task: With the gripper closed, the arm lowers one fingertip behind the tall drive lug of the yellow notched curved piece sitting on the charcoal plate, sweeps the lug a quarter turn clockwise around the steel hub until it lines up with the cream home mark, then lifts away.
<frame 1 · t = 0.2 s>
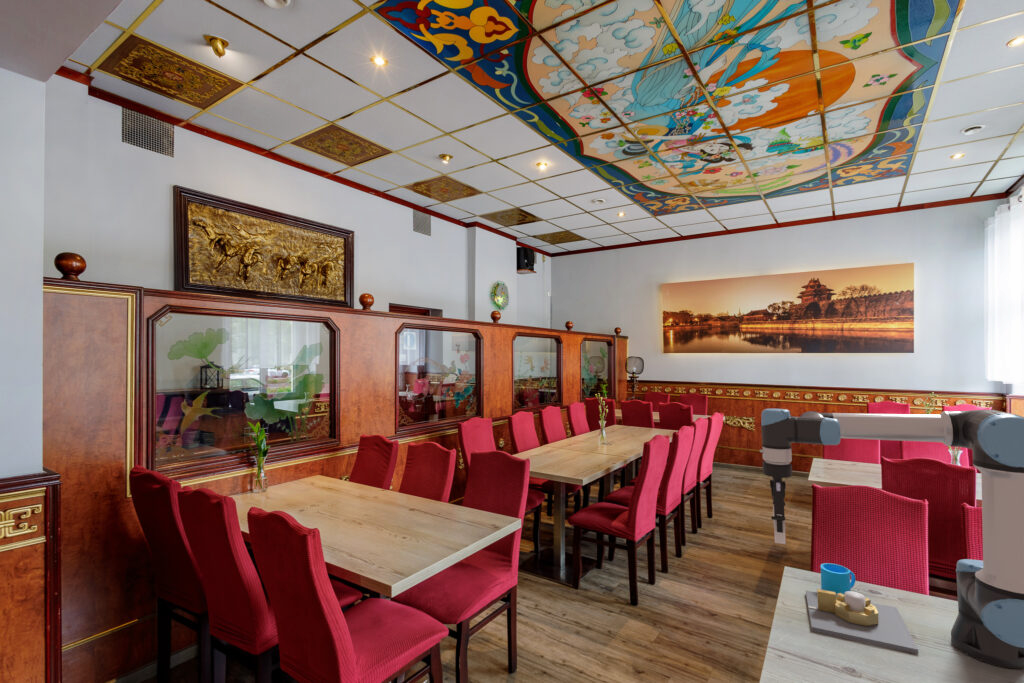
hand: (779, 535, 140), 27 cm above the table, fingers open, 13 cm apart
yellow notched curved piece: (846, 604, 144), point 4 cm above the table, hinge at 0.0°
housing plate: (855, 620, 143), on the table
mug: (840, 593, 160), on the table
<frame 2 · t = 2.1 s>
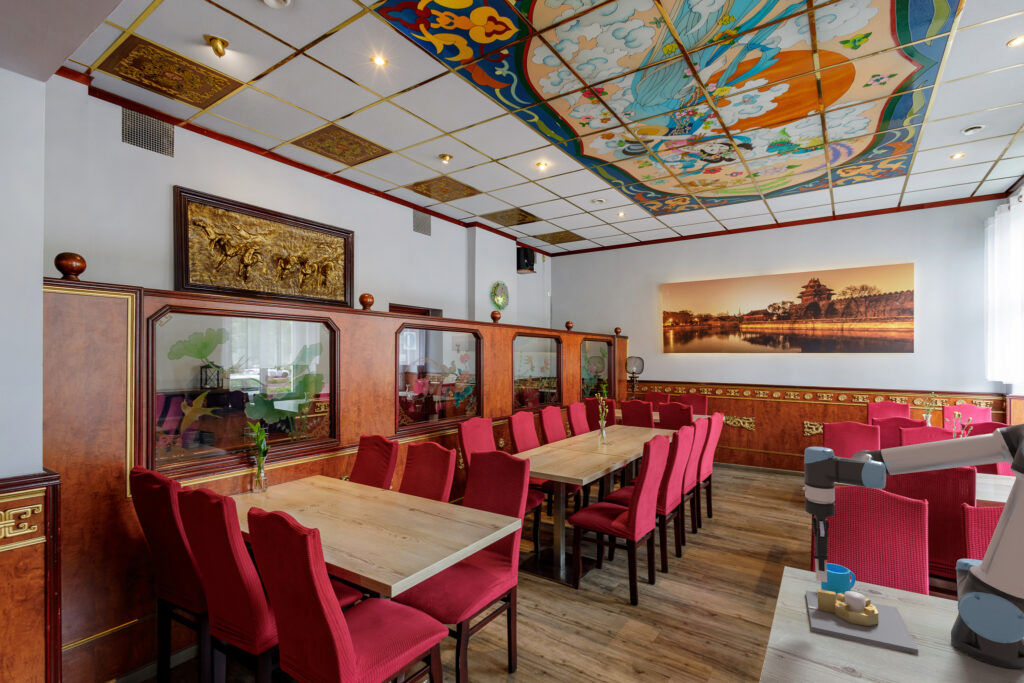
hand: (821, 580, 142), 13 cm above the table, fingers closed
nothing on the table moved.
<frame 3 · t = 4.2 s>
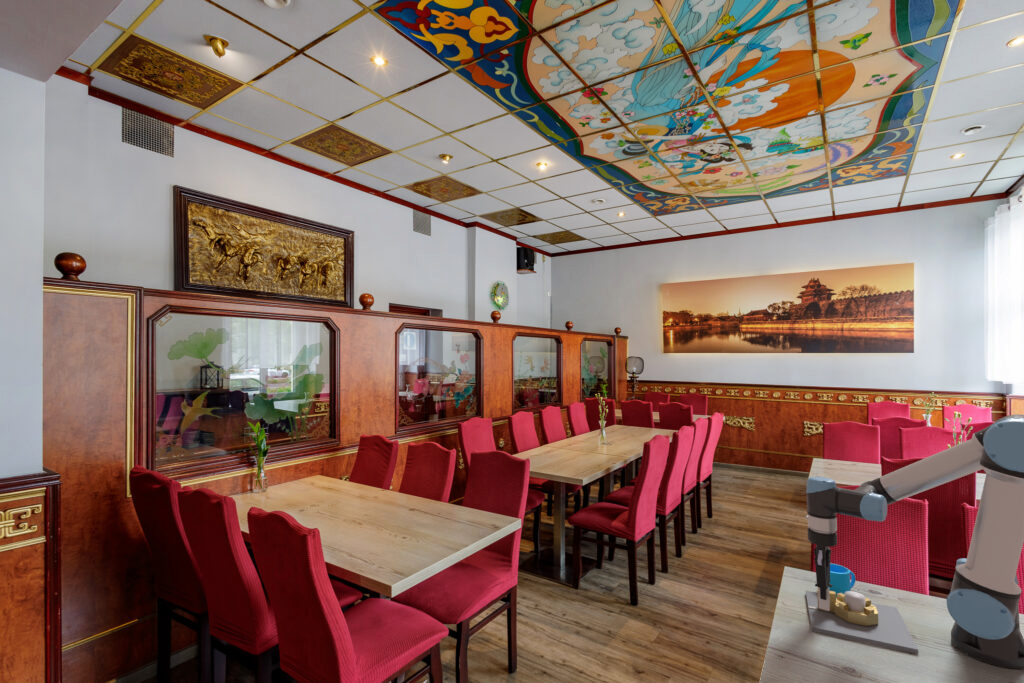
hand: (824, 608, 144), 3 cm above the table, fingers closed
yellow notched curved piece: (846, 604, 144), point 4 cm above the table, hinge at -2.2°, touching gripper
everything else where it was.
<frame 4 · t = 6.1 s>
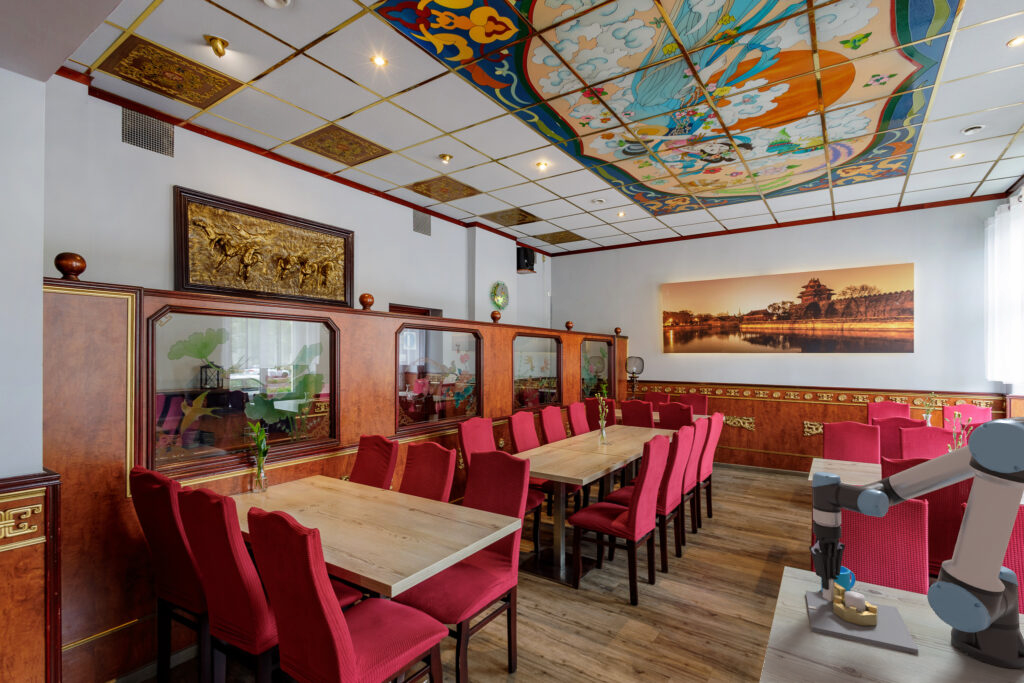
hand: (828, 599, 150), 3 cm above the table, fingers closed
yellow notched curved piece: (849, 602, 145), point 4 cm above the table, hinge at -58.6°, touching gripper
everything else where it was.
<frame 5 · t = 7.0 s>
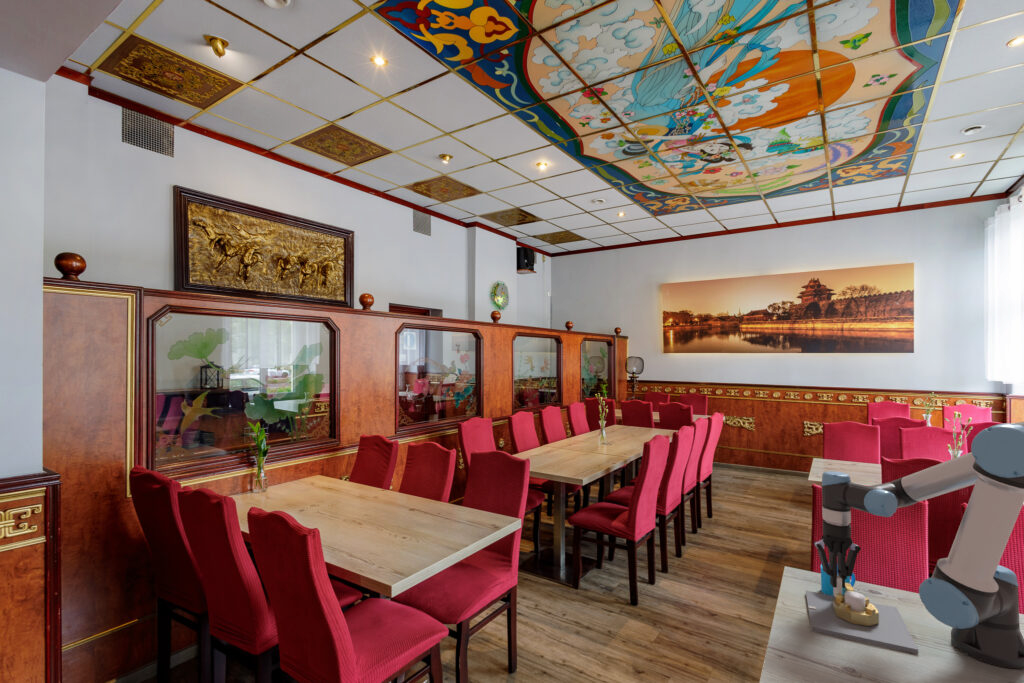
hand: (837, 597, 151), 3 cm above the table, fingers closed
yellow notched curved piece: (853, 602, 145), point 4 cm above the table, hinge at -85.0°, touching gripper
everything else where it was.
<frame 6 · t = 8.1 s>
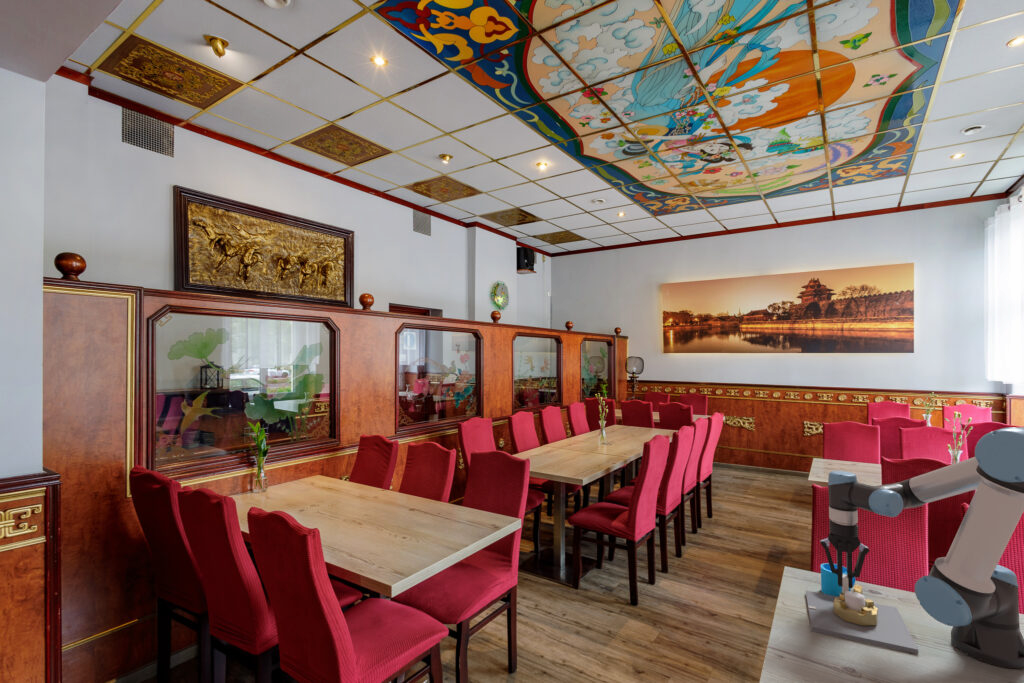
hand: (845, 596, 151), 3 cm above the table, fingers closed
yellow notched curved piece: (856, 603, 145), point 4 cm above the table, hinge at -103.6°
everything else where it was.
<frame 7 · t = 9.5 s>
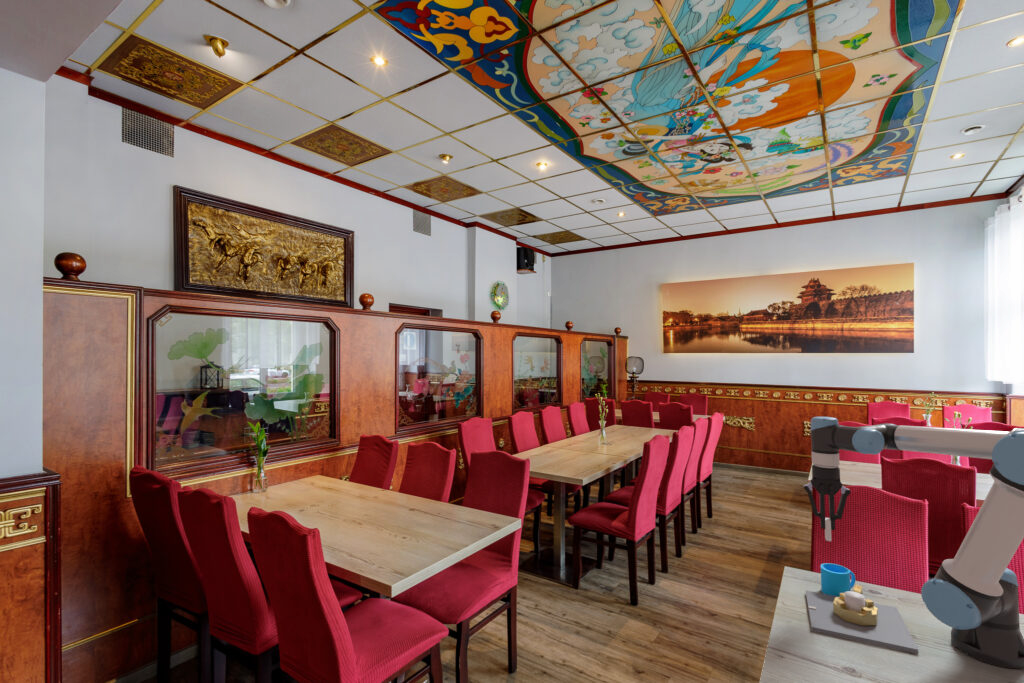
hand: (828, 539, 153), 20 cm above the table, fingers closed
nothing on the table moved.
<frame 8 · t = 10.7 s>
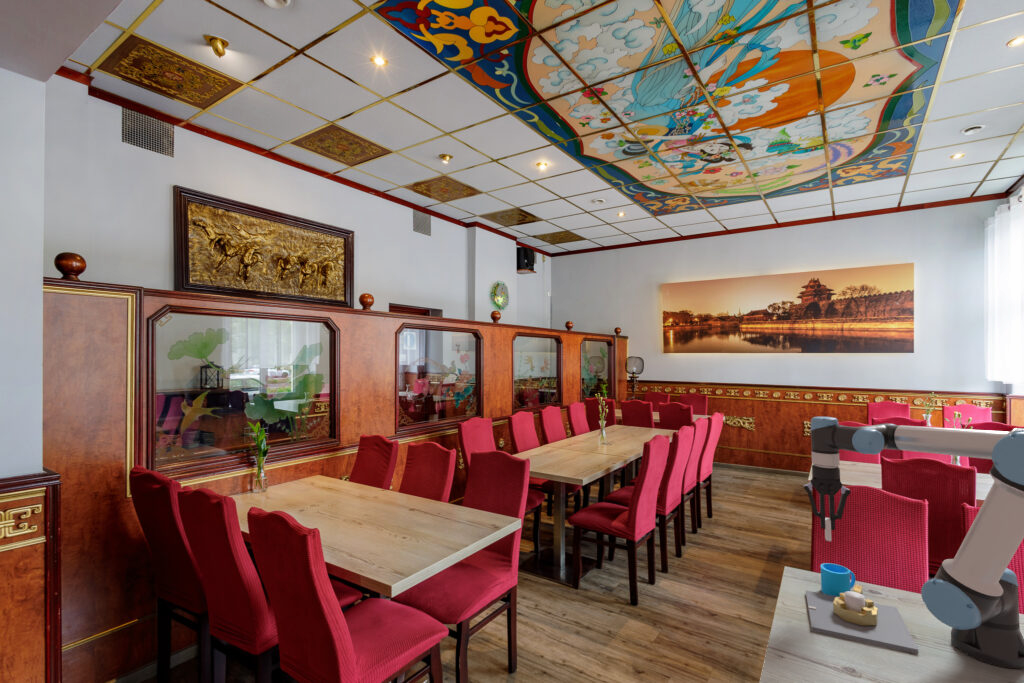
hand: (828, 539, 153), 20 cm above the table, fingers closed
nothing on the table moved.
at the end: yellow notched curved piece at -104° (first picture: +0°) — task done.
